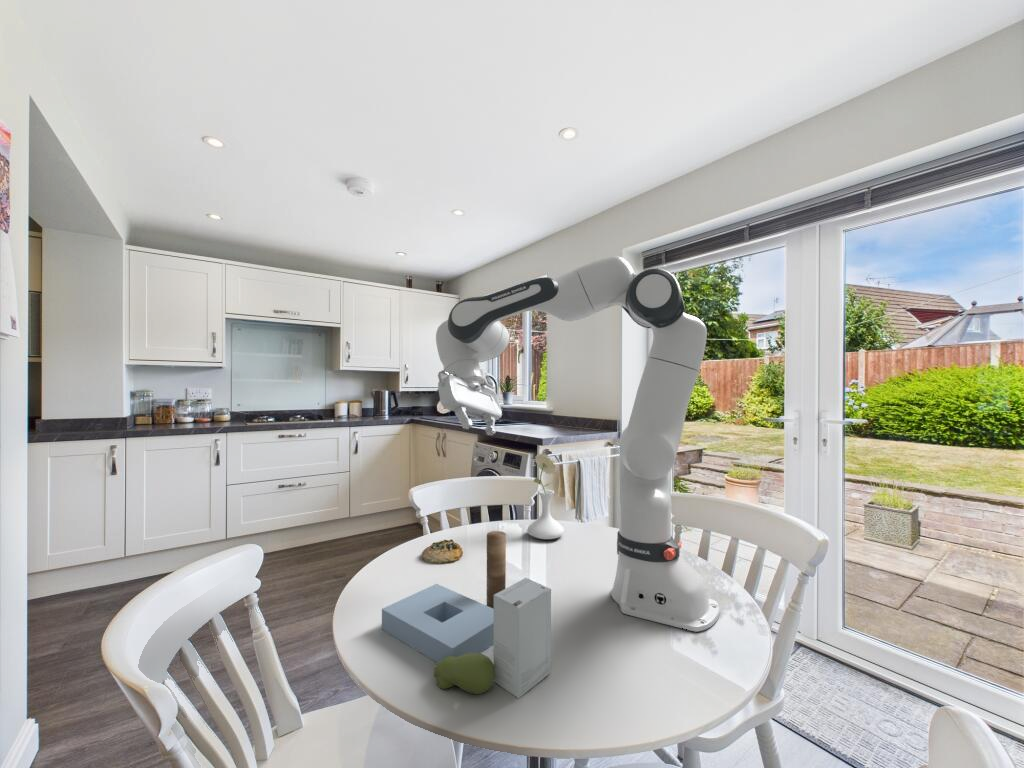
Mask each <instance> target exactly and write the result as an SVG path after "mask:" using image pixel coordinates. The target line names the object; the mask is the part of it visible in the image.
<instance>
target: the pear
mask: <svg viewBox="0 0 1024 768" xmlns="http://www.w3.org/2000/svg"><path fill="white" fill-rule="evenodd" d="M433 671H434V672H433V676H434V679H435V681H436V686H437V687H438V688H440V689H442V690H447V689H449V688H452V687H453V686H458V687H459V688H460V689H462V690H464V691H466V692H468V693H471V694H474V695H481V694H483V693H485V692H487V691H488V690H489V689H490V688H491V687H492V685H493V683H494V682H495V681H494V676H495V670H494V665H493V661H492V659H491V658H490V657H489V656H488V655H486V654H484V653H482V652H481V653H467V654H463V655H461V656H458V657H453V656H450V657H447V658H444V659H443V660H442V661H440V662H439V663H437V662H436V663H435V665H434V670H433Z"/></svg>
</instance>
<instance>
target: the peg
mask: <svg viewBox="0 0 1024 768" xmlns="http://www.w3.org/2000/svg"><path fill="white" fill-rule="evenodd" d="M506 545H507V534H506V532H504V531H501V530H493V531H489V532H487V533H486V606H488V607H491V608H493V609H494V594H496V593H498V592H500V591H502V590H504V589H506V588H507V587H506V583H507V582H506V578H507V577H506V574H507V573H506V571H507V568H506V566H507V563H506V560H507V558H506V557H507V555H506V554H507V552H506V551H507V549H506V548H507V547H506Z"/></svg>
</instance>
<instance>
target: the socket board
mask: <svg viewBox="0 0 1024 768" xmlns="http://www.w3.org/2000/svg"><path fill="white" fill-rule="evenodd" d="M381 630H383V631H384V632H385V633H387V634H389V635H391V636H392V635H393V637H394V638H396V639H397V640H399V641H401V642H402V643H404V644H406V645H408V646H409V647H411V648H412V647H413V650H415V649H416V651H417V650H418V651H417V652H418V653H420V652H421V653H420V654H422V653H423V654H422V655H424V656H425V657H427V658H428V659H430V660H432V661H434V662H436V663H439V662H440V661H442V660H443V659H444V658H447V657H450V656H453V657H458V656H461V655H463V654H467V653H481V654H482V653H483V652H484V651H486V650H487V649H489V648H490V647H492V646H494V609H493V608H491V607H488V606H487V604H486V605H485V604H484V603H481V602H479V601H477V600H475V599H473V598H470V597H468V596H465V595H464V594H461V593H458V592H457V591H455V590H452V589H449V588H448V587H445V586H443V585H441V584H439V583H435V584H433V585H431V586H428V587H427V588H426V587H425V588H423V589H422V590H420V591H418V592H416V593H413V594H411V595H409V596H407V597H404V598H402V599H400V600H398V601H396V602H394V603H392V604H389V605H388V606H385V607H382V608H381Z"/></svg>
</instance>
